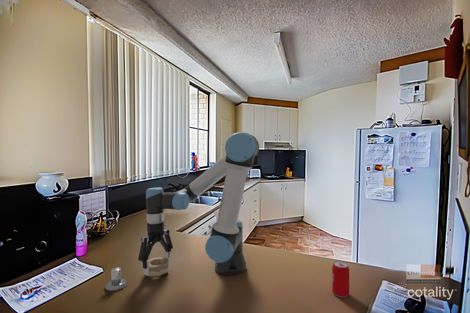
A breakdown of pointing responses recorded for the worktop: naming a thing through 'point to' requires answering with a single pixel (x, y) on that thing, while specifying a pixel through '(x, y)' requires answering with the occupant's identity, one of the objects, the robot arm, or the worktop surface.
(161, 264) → the ring
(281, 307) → the worktop surface
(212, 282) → the worktop surface
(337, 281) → the beverage can
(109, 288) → the post
